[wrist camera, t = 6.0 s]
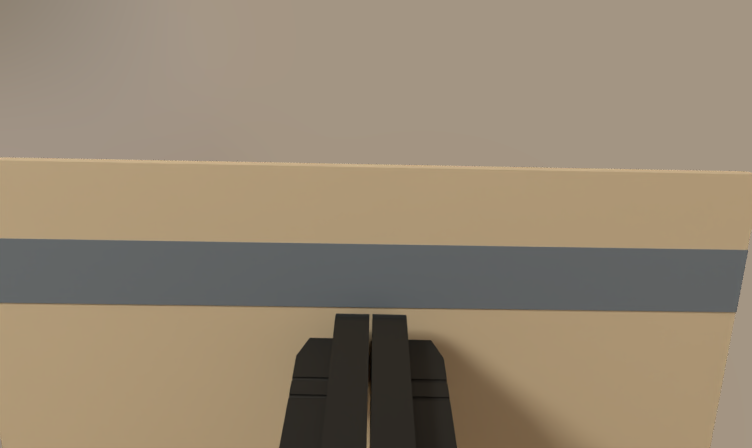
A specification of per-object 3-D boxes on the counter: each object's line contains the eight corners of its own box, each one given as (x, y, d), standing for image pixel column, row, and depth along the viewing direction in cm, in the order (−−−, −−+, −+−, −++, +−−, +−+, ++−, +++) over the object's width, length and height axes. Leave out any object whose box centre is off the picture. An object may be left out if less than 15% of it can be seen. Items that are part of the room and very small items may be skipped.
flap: (19, 558, 13) (-45, 159, 10) (33, 539, 13) (-26, 156, 11) (689, 560, 13) (762, 174, 11) (677, 542, 13) (744, 170, 11)
